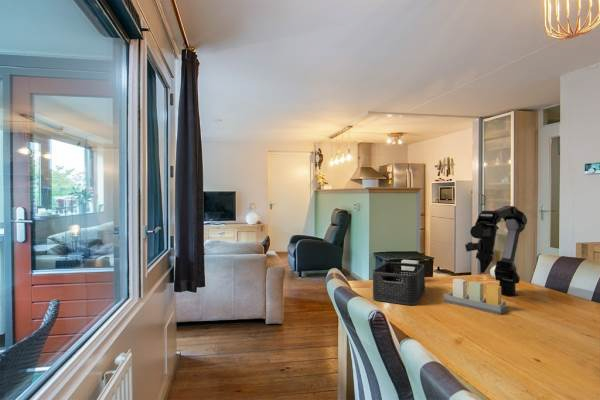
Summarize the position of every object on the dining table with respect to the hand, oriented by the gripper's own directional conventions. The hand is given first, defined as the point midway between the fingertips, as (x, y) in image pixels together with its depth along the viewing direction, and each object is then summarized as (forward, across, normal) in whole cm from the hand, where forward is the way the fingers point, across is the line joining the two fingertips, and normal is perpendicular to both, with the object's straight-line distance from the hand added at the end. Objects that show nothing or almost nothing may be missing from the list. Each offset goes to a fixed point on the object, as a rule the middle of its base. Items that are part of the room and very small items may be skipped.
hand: (482, 272), depth 154 cm
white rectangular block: (+12, +6, -7) cm, 15 cm away
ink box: (+17, -18, -33) cm, 41 cm away
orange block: (+10, +11, +6) cm, 16 cm away
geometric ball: (+10, -48, +7) cm, 49 cm away
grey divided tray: (+13, +10, 0) cm, 16 cm away
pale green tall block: (+11, +9, 0) cm, 14 cm away
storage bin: (+18, +10, -32) cm, 38 cm away
